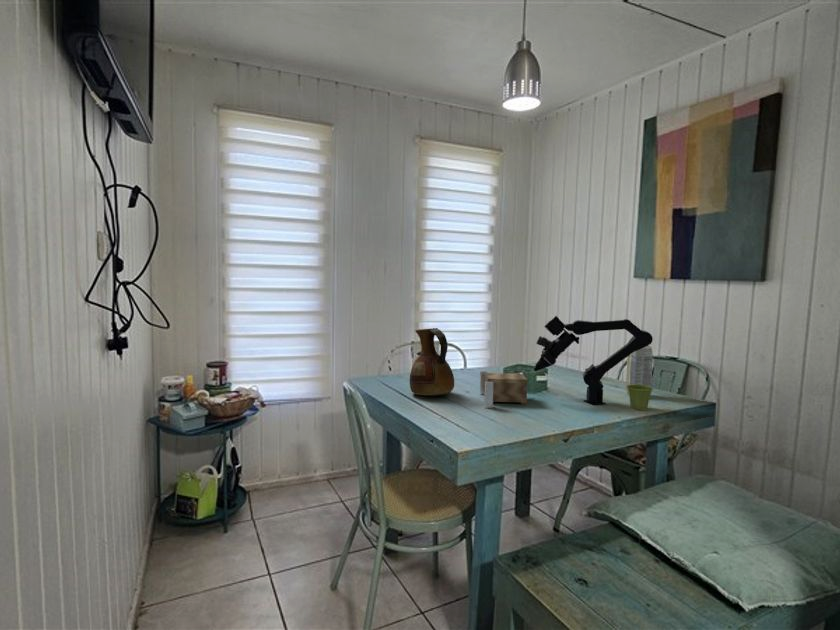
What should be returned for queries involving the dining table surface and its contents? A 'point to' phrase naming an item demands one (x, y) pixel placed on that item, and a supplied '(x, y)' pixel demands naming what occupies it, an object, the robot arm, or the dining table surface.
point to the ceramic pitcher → (431, 366)
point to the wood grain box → (508, 387)
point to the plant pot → (639, 396)
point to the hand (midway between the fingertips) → (535, 368)
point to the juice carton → (639, 368)
